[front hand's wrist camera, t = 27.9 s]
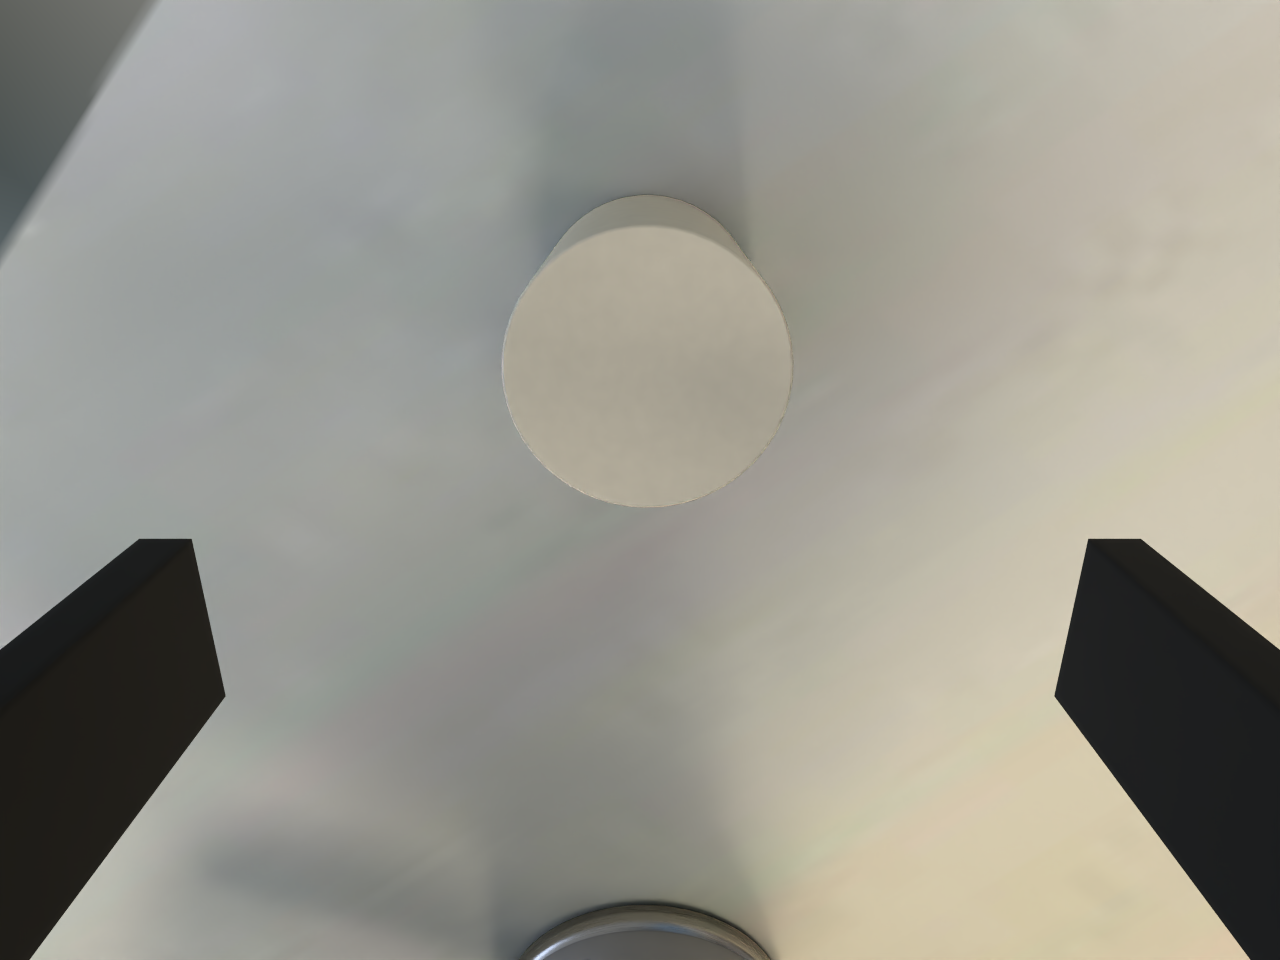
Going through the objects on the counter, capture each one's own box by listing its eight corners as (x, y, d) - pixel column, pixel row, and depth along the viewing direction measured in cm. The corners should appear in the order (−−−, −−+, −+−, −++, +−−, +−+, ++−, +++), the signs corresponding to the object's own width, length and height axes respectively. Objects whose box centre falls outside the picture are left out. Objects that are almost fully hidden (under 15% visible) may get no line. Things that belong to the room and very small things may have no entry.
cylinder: (757, 398, 34) (797, 497, 25) (555, 415, 34) (523, 519, 25) (748, 184, 31) (790, 210, 22) (526, 205, 31) (478, 239, 22)
